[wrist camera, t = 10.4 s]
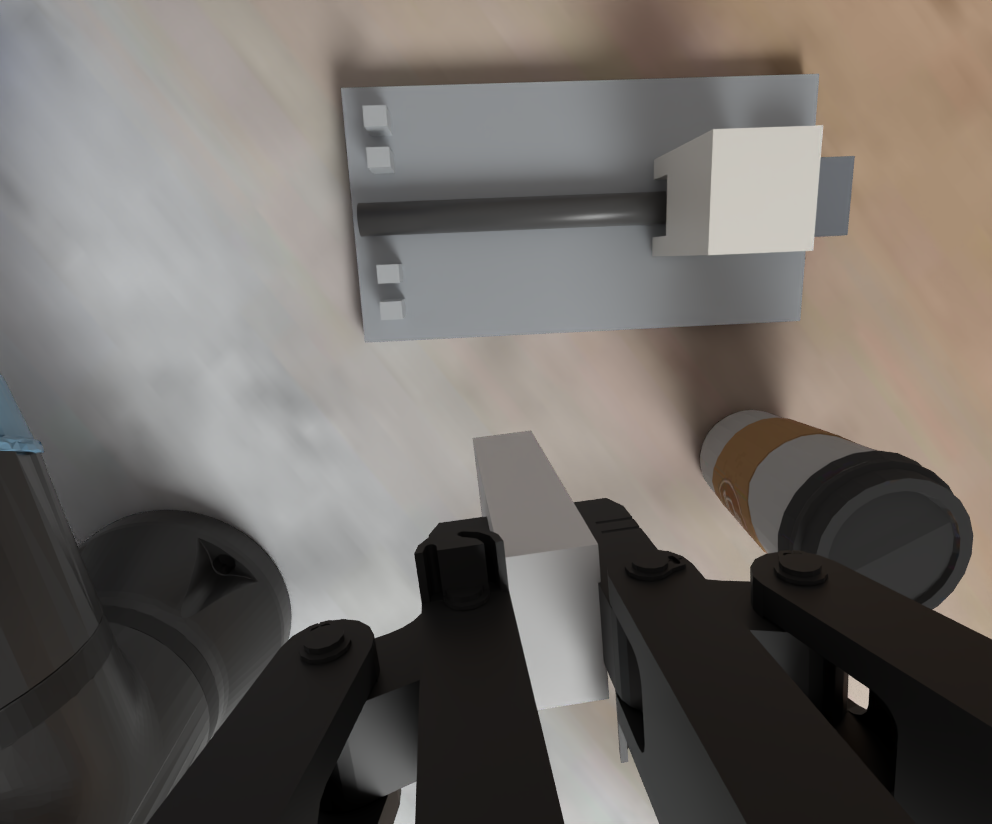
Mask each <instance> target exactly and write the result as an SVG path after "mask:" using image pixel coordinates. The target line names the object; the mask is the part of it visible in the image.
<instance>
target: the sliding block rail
mask: <svg viewBox="0 0 992 824" xmlns="http://www.w3.org/2000/svg"><path fill="white" fill-rule="evenodd" d="M818 83H819V74H797V75H763V76H729V77H695V78H661V79H627V80H593V81H559V82H524V83H490V84H456V85H422V86H388V87H354V88H341V95H342V105H343V116H344V126H345V137H346V148H347V158H348V169H349V179H350V190H351V201H352V211H353V222H354V232H355V243H356V254H357V264H358V275H359V285H360V296H361V307H362V317H363V328H364V338H365V342H385V341H405V340H425V339H445V338H465V337H485V336H505V335H525V334H545V333H566V332H586V331H606V330H626V329H646V328H666V327H686V326H706V325H726V324H746V323H767V322H787V321H800V316H801V303H802V290H803V277H804V264H805V251H793V252H770V253H748V254H725V255H696V256H653V257H652V239H653V237H660V236H666V212H667V179H665V180H654V159H656V158H658V157H660V156H662V155H664V154H666V153H668V152H670V151H672V150H674V149H676V148H678V147H679V146H681V145H683V144H685V143H687V142H689V141H691V140H693V139H695V138H697V137H699V136H701V135H703V134H705V133H707V132H709V131H710V130H712V129H730V128H760V127H790V126H815V122H816V109H817V96H818ZM854 158H855V156H844V157H821V159H820V172H819V184H818V196H817V209H816V221H815V234H814V237H826V236H841V235H847V233H848V222H849V212H850V201H851V190H852V179H853V169H854Z"/></svg>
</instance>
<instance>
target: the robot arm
mask: <svg viewBox="0 0 992 824" xmlns="http://www.w3.org/2000/svg"><path fill="white" fill-rule="evenodd" d="M473 445H474V453H475V462H476V470H477V478H478V487H479V495H480V503H481V512H482V517H479V518H472V519H465V520H457V521H450V522H443V523H439V524H438V525H437V526H436V527H435V528H434V530H433V531H432V532H431V533H430V534H429V538H427V539H426V540H425V541H423V542H422V543H421V544H420V545H418V547H417V549H416V551H415V553H414V555H415V561H416V568H417V575H418V581H419V588H420V594H421V601H422V613H421V614H420V615H419V616H418V617H417V618H416V619H415V620H414V621H413V622H411V623H409V624H408V625H406V626H404V627H403V628H401V629H398V630H396V631H394V632H391V633H389V634H386V635H383V636H380V637H378V638H374V634H373V632H372V630H371V628H370V627H369V626H368V625H366V624H364V623H362V622H360V621H356V620H347V619H341V620H333V621H332V620H328V621H324V622H320V624H318V623H317V624H314V625H312V626H309V627H308V628H306V629H304V630H303V631H301V632H299V633H297V634H296V635H294V636H292V637H291V638H290V639H289V635H290V629H291V605H290V599H289V595H288V591H287V588H286V586H285V583H284V581H283V578H282V576H281V574H280V573H279V571H278V569H277V568H276V566H275V564H274V563H273V562H272V560H271V559H270V558H269V556H268V555H267V554H266V553H265V552H264V551H263V550H262V549H261V548H260V547H259V546H258V545H257V544H256V543H255V542H254V541H253V540H251V539H250V538H249V537H247V536H246V535H245V534H243V533H242V532H240V531H239V530H237V529H235V528H234V527H232V526H230V525H228V524H226V523H224V522H222V521H219V520H217V519H214V518H211V517H208V516H205V515H201V514H197V513H192V512H186V511H177V510H158V511H149V512H143V513H139V514H134V515H131V516H128V517H125V518H122V519H120V520H117V521H115V522H113V523H111V524H110V525H108V526H106V527H105V528H103V529H101V530H100V531H99V532H97V533H96V534H95V535H93V536H92V537H91V538H89V539H88V540H87V541H85V542H84V543H83V544H81V545H80V546H79V547H78V546H77V544H76V541H75V539H74V537H73V534H72V532H71V529H70V527H69V525H68V522H67V520H66V517H65V515H64V512H63V510H62V507H61V505H60V502H59V499H58V497H57V494H56V492H55V489H54V486H53V484H52V481H51V479H50V476H49V474H48V471H47V468H46V466H45V463H44V461H43V458H42V455H41V453H43V452H44V449H43V446H42V444H41V442H40V441H38V440H35V439H34V438H33V436H32V434H31V432H30V430H29V428H28V426H27V424H26V422H25V420H24V418H23V416H22V414H21V412H20V410H19V408H18V406H17V404H16V402H15V400H14V398H13V396H12V394H11V392H10V389H9V387H8V385H7V383H6V381H5V379H4V378H3V377H2V375H1V374H0V824H393V823H394V820H395V817H396V814H397V811H398V808H399V805H400V796H401V788H403V787H405V786H407V785H409V784H411V783H414V782H416V781H417V783H416V816H415V824H564V820H563V816H562V812H561V808H560V803H559V799H558V795H557V791H556V786H555V782H554V778H553V774H552V770H551V765H550V761H549V757H548V753H547V749H546V744H545V740H544V736H543V732H542V727H541V723H540V719H539V715H538V711H537V710H542V709H548V708H554V707H560V706H567V705H573V704H579V703H585V702H591V701H597V700H604V699H609V690H608V676H607V671H608V673H609V676H610V678H611V680H612V683H613V685H614V687H615V691H616V705H617V720H618V735H619V749H620V758H621V763H624V762H628V752H627V749H628V748H629V749H630V752H631V754H632V757H633V759H634V762H635V764H636V767H637V769H638V772H639V774H640V777H641V779H642V782H643V784H644V787H645V789H646V792H647V794H648V797H649V799H650V802H651V804H652V807H653V809H654V812H655V814H656V817H657V819H658V822H659V824H992V639H990V638H988V637H986V636H984V635H982V634H980V633H978V632H976V631H974V630H972V629H970V628H968V627H966V626H964V625H962V624H960V623H958V622H956V621H954V620H952V619H950V618H948V617H946V616H944V615H942V614H940V613H938V612H936V611H934V610H932V609H930V608H928V607H926V606H924V605H922V604H920V603H918V602H916V601H914V600H912V599H910V598H908V597H906V596H904V595H902V594H900V593H898V592H896V591H894V590H892V589H890V588H888V587H886V586H884V585H882V584H880V583H878V582H876V581H874V580H872V579H870V578H868V577H866V576H864V575H862V574H860V573H858V572H856V571H854V570H852V569H850V568H848V567H846V566H844V565H842V564H840V563H838V562H836V561H833V560H831V559H828V558H825V557H823V556H820V555H816V554H810V553H806V552H804V551H798V550H792V551H790V550H783V551H779V552H774V553H768V554H765V555H763V556H761V557H759V558H757V559H755V560H754V562H753V563H752V565H751V567H750V582H746V581H719V580H708V579H705V578H704V577H703V576H702V574H701V573H700V572H699V571H698V570H697V569H696V567H695V566H694V565H693V564H692V563H691V562H690V561H688V560H687V559H686V558H684V557H683V556H680V555H678V554H675V553H672V552H669V551H662V550H658V549H657V548H656V547H655V545H654V544H653V543H652V542H651V540H650V539H649V538H648V537H647V535H646V534H645V533H644V532H643V530H642V529H641V528H639V525H638V524H637V523H636V521H635V520H634V519H632V516H631V515H630V514H629V513H628V511H627V510H626V509H625V507H624V506H622V505H620V504H618V503H616V502H614V501H612V500H610V499H607V498H602V499H595V500H588V501H581V502H573V501H572V499H571V497H570V496H569V494H568V492H567V491H566V489H565V487H564V486H563V484H562V482H561V480H560V479H559V477H558V475H557V474H556V472H555V470H554V469H553V467H552V465H551V464H550V462H549V460H548V458H547V457H546V455H545V453H544V452H543V450H542V448H541V447H540V445H539V443H538V442H537V440H536V438H535V436H534V435H533V433H532V431H525V432H517V433H509V434H501V435H494V436H486V437H478V438H473ZM288 639H289V640H288ZM848 674H849V675H850V676H852V677H853V678H855V679H856V680H857V681H859V682H860V683H862V684H863V685H865V686H866V687H868V688H869V705H868V708H867V709H864V708H862V707H861V706H859V705H857V704H856V703H854V702H853V701H852V700H850V699H849V698H848ZM213 735H214V736H213ZM212 736H213V737H212ZM211 737H212V738H211ZM210 739H211V740H210Z"/></svg>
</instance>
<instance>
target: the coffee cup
mask: <svg viewBox="0 0 992 824" xmlns="http://www.w3.org/2000/svg"><path fill="white" fill-rule="evenodd" d="M700 467H701V471H702V474H703V477H704V479H705V481H706V482H707V484H708V485H709V486H710V488H711V489H712V490H713V491H714V492H715V494H716V495H717V496H718V498H719V499H720V501H721V502H722V503H723V505H724V506H725V507H726V508H727V509H728V511H729V512H730V513H731V514H732V515H733V516H734V517H735V519H736V520H737V521H738V522H739V523H740V524H741V526H742V527H743V528H744V529H745V530H746V531H747V532H748V534H749V535H750V536H751V537H752V538H753V539H754V541H755V542H756V543H757V544H758V545H759V546H760V547H761V549H762V550H763V551H764V552H766V553H767V554H768V553H774V552H779V551H783V550H790V551H792V550H798V551H804V552H806V553H810V554H816V555H820V556H823V557H825V558H828V559H831V560H833V561H836V562H838V563H840V564H842V565H844V566H846V567H848V568H850V569H852V570H854V571H856V572H858V573H860V574H862V575H864V576H866V577H868V578H870V579H872V580H874V581H876V582H878V583H880V584H882V585H884V586H886V587H888V588H890V589H892V590H894V591H896V592H898V593H900V594H902V595H904V596H906V597H908V598H910V599H912V600H914V601H916V602H918V603H920V604H922V605H924V606H926V607H928V608H930V609H934V608H936V607H937V606H939V605H940V604H941V603H942V602H943V601H944V600H945V599H946V598H947V597H948V596H949V595H950V594H951V593H952V592H953V591H954V589H955V588H956V586H957V584H958V583H959V581H960V580H961V578H962V577H963V575H964V574H965V571H966V568H967V566H968V563H969V560H970V557H971V554H972V543H973V531H972V527H971V522H970V517H969V515H968V513H967V511H966V510H965V508H964V506H963V504H962V503H961V501H960V500H959V499H958V498H957V497H956V496H954V494H953V493H952V491H951V489H950V487H949V486H948V485H947V484H946V483H945V482H944V481H943V480H942V479H941V478H939V477H938V476H937V475H936V474H935V473H934V472H932V471H931V470H929V469H926V468H924V467H922V466H921V465H920V464H919V463H918V462H916V461H914V460H912V459H910V458H907V457H905V456H903V455H901V454H898V453H892V452H885V451H877V450H874V449H871V448H868V447H865V446H862V445H860V444H857V443H855V442H852V441H850V440H848V439H845V438H843V437H841V436H838V435H835V434H832V433H829V432H827V431H824V430H821V429H818V428H815V427H812V426H809V425H806V424H803V423H800V422H797V421H794V420H791V419H786V418H782V417H779V416H776V415H773V414H770V413H767V412H765V411H758V410H746V411H739V412H737V413H734V414H731V415H729V416H727V417H725V418H724V419H722V420H721V421H720V422H718V423H717V424H716V425H715V426H714V427H713V428H712V429H711V430H710V431H709V433H708V434H707V436H706V438H705V440H704V442H703V446H702V450H701V454H700Z"/></svg>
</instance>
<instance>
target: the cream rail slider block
mask: <svg viewBox="0 0 992 824" xmlns="http://www.w3.org/2000/svg"><path fill="white" fill-rule="evenodd" d="M822 134H823V125H819V126H790V127H760V128H730V129H712V130H710V131H709V132H707V133H705V134H703V135H701V136H699V137H697V138H695V139H693V140H691V141H689V142H687V143H685V144H683V145H681V146H679V147H678V148H676V149H674V150H672V151H670V152H668V153H666V154H664V155H662V156H660V157H658V158H656V159H654V180H665V179H667V212H666V236H660V237H653V239H652V257H653V256H696V255H725V254H748V253H770V252H793V251H813V246H814V234H815V221H816V209H817V196H818V184H819V172H820V159H821V147H822Z"/></svg>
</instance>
